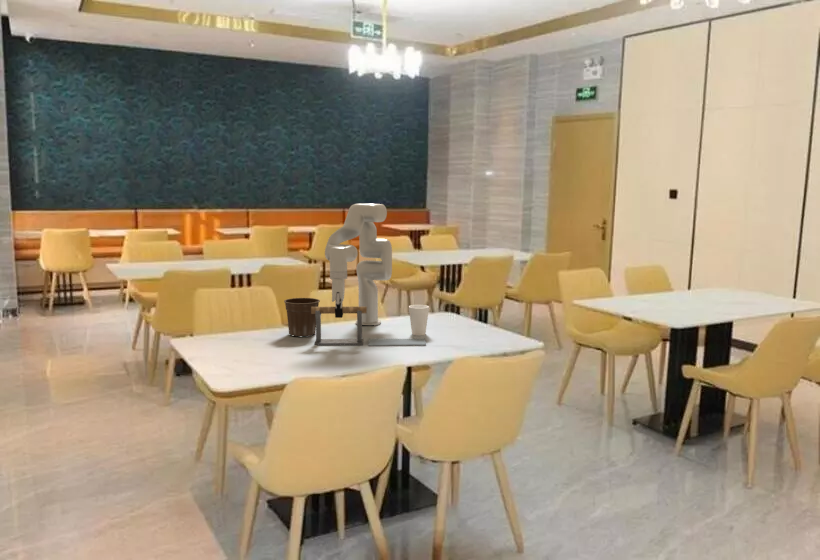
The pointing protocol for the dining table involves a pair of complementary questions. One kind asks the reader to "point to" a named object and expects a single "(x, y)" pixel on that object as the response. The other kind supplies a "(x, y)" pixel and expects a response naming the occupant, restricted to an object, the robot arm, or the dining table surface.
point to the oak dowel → (332, 310)
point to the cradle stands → (338, 341)
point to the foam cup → (418, 318)
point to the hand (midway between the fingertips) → (339, 316)
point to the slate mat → (397, 342)
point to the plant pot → (301, 316)
